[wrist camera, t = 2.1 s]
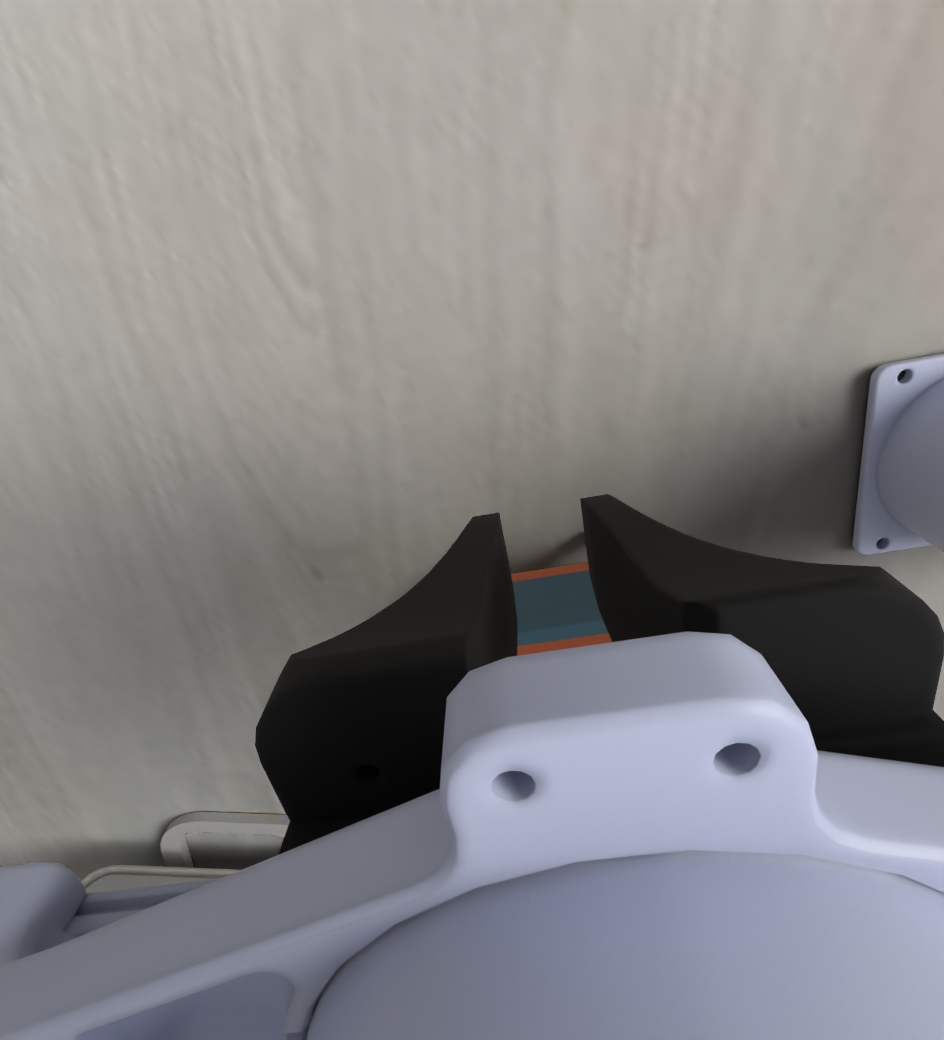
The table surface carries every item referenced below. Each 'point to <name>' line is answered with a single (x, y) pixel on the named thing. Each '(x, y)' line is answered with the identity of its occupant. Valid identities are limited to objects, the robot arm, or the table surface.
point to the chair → (557, 609)
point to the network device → (184, 851)
